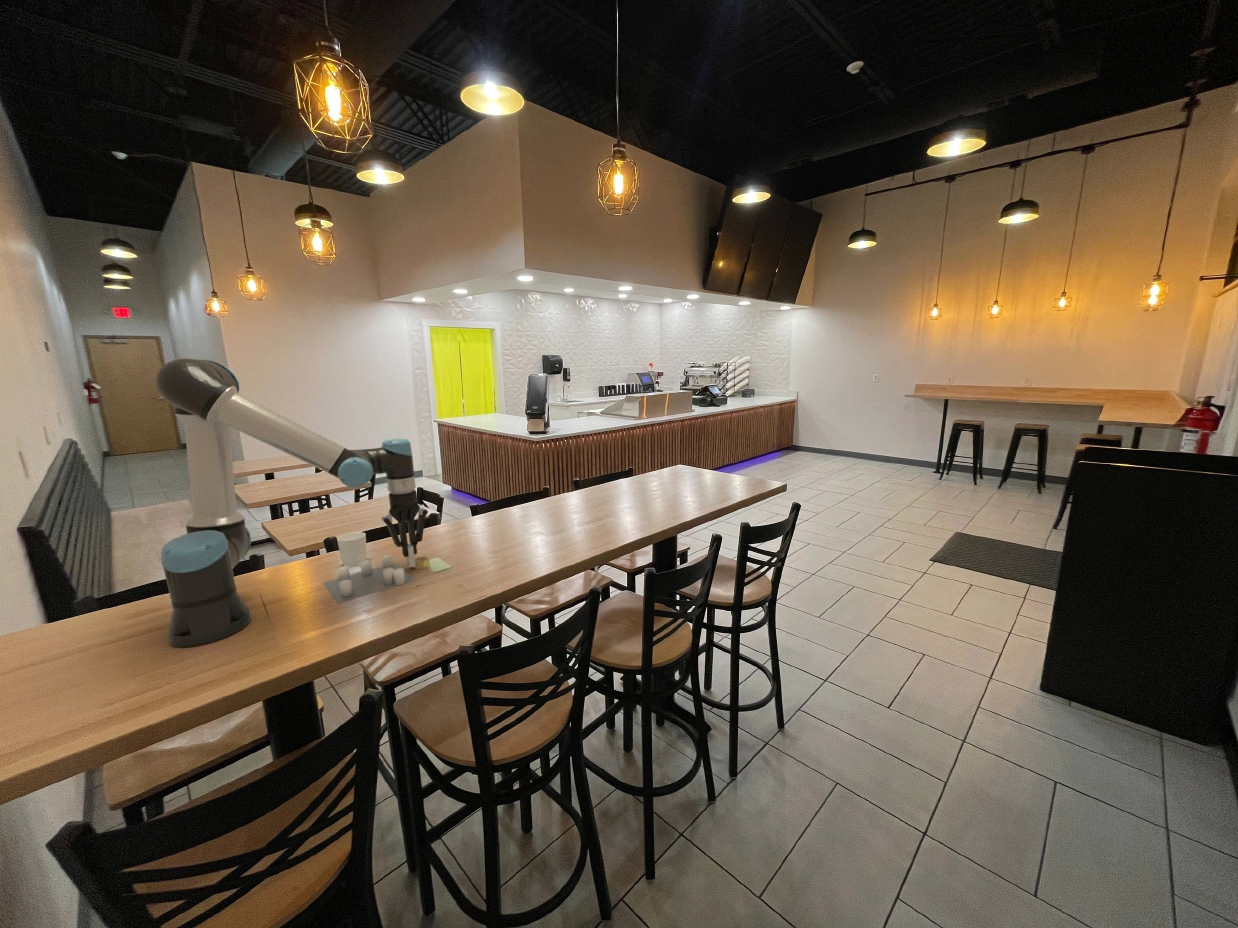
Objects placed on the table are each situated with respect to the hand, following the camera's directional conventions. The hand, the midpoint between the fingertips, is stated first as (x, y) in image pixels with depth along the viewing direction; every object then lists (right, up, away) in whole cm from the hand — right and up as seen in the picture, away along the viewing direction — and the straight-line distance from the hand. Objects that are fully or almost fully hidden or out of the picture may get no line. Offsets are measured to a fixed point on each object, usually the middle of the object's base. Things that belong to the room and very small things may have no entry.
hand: (411, 565), depth 144 cm
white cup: (-21, -2, +7) cm, 22 cm away
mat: (+3, -2, +3) cm, 5 cm away
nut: (+2, -2, +3) cm, 4 cm away
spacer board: (-9, -4, -8) cm, 12 cm away
